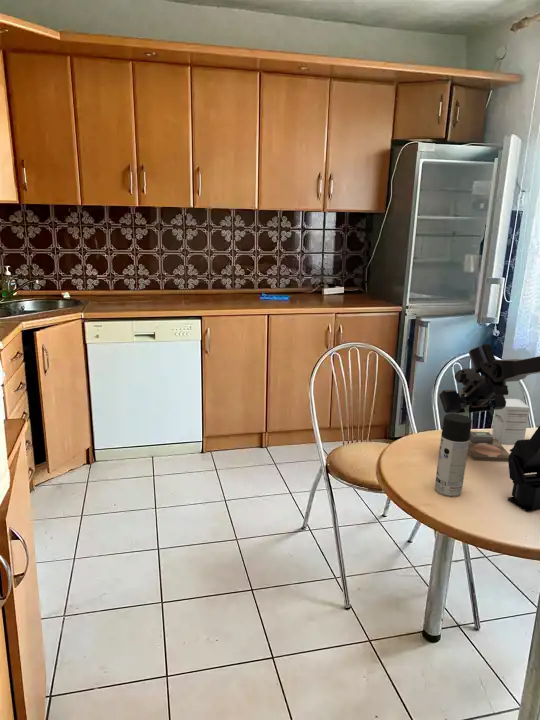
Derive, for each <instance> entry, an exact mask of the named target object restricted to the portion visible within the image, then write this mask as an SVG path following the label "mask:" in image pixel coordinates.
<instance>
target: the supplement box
mask: <svg viewBox="0 0 540 720" xmlns="http://www.w3.org/2000/svg"><path fill="white" fill-rule="evenodd" d="M505 400H506V406H505V407H504V408H503V409H499V410H495V413H494V419H493V426H492V433H491V435H492V436H493V437H494V438H496V439H497V441H498V442H499V443H500V444H501V445H508V444H509V445H512V446H514V445H515V443H516V442H517V441H518V440H526V439H525V437H526V432H527V425H528V419H529V416H530V415H529V414H530V406H529V405H528V404H526V403H525V402H523V401H522V400H521V399H519V398H505ZM509 445H508V446H509Z"/></svg>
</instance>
